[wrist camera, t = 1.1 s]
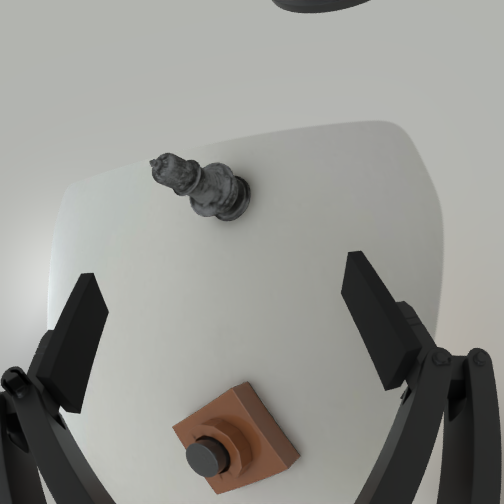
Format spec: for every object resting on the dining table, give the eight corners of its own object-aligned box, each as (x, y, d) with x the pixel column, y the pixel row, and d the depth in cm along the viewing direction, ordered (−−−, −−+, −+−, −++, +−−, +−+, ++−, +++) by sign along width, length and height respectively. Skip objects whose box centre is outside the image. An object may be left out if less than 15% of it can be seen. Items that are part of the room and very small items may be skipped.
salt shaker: (262, 192, 32) (185, 147, 22) (228, 234, 34) (144, 208, 23) (231, 164, 35) (156, 120, 25) (201, 203, 36) (121, 173, 26)
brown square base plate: (247, 381, 30) (219, 392, 26) (300, 456, 26) (279, 478, 22) (188, 420, 33) (159, 431, 29) (231, 484, 29) (206, 502, 25)
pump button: (215, 431, 26) (202, 438, 24) (237, 463, 24) (225, 472, 22) (192, 443, 27) (179, 449, 25) (212, 473, 25) (200, 481, 24)
